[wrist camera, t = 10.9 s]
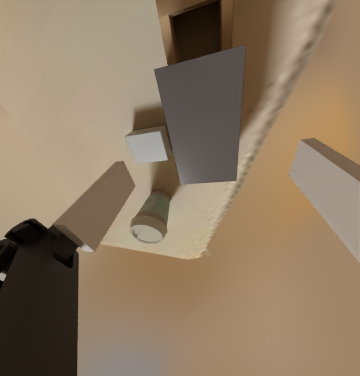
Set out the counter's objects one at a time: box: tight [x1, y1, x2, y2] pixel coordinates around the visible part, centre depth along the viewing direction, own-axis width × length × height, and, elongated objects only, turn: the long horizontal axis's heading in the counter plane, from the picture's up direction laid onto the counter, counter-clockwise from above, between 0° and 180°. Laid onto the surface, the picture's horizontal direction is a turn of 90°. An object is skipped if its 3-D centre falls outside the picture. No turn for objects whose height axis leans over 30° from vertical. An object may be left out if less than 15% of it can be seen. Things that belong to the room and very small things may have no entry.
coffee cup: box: [130, 190, 170, 244], centre depth 35 cm, size 8×8×12 cm
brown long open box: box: [156, 0, 233, 66], centre depth 22 cm, size 22×8×4 cm, turn 11°
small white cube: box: [125, 125, 171, 164], centre depth 28 cm, size 6×7×4 cm
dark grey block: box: [154, 45, 246, 184], centre depth 21 cm, size 15×9×8 cm, turn 11°
